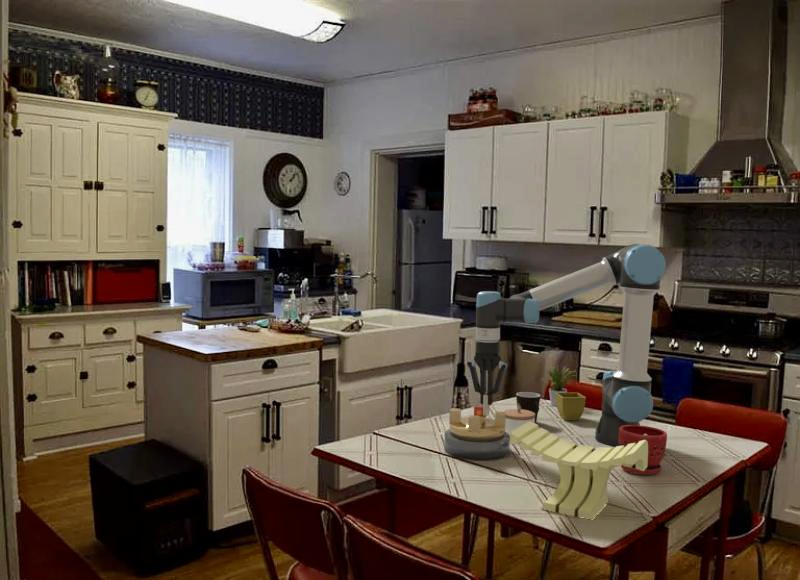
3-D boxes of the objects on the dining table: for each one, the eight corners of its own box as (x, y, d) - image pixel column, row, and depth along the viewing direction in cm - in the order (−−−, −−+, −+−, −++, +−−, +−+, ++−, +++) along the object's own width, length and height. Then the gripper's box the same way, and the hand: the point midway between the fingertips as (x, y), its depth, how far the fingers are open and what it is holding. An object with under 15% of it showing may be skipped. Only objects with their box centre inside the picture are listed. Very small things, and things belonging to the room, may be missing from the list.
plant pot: (660, 480, 202) (662, 438, 201) (612, 472, 208) (614, 431, 207) (668, 468, 213) (670, 427, 212) (622, 460, 219) (624, 421, 218)
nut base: (522, 451, 227) (522, 434, 226) (483, 465, 212) (483, 447, 212) (471, 437, 240) (471, 422, 240) (431, 449, 226) (431, 433, 225)
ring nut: (506, 428, 232) (507, 407, 232) (502, 443, 216) (503, 420, 215) (453, 424, 236) (454, 403, 235) (445, 438, 219) (446, 415, 219)
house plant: (569, 411, 279) (571, 369, 278) (534, 406, 286) (536, 365, 285) (580, 404, 291) (582, 364, 290) (546, 400, 298) (548, 360, 297)
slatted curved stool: (645, 507, 182) (648, 436, 180) (630, 528, 168) (633, 452, 166) (530, 484, 197) (532, 419, 195) (507, 502, 183) (510, 432, 182)
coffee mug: (514, 418, 267) (515, 391, 266) (538, 419, 266) (539, 392, 265) (515, 426, 255) (516, 398, 255) (540, 428, 254) (541, 399, 254)
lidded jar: (536, 440, 239) (537, 412, 238) (504, 439, 239) (504, 411, 238) (531, 431, 249) (532, 404, 249) (500, 430, 250) (501, 403, 249)
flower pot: (554, 416, 272) (555, 392, 271) (576, 415, 273) (577, 392, 272) (561, 422, 263) (562, 397, 263) (585, 422, 264) (586, 397, 264)
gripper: (464, 340, 229) (463, 415, 230) (504, 343, 224) (502, 419, 225) (471, 338, 236) (470, 410, 237) (510, 340, 231) (509, 414, 232)
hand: (486, 414), depth 231 cm, fingers closed
